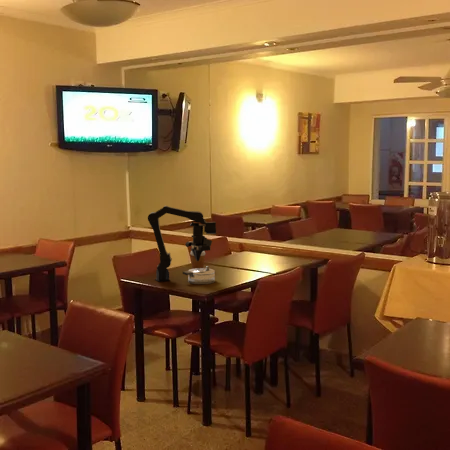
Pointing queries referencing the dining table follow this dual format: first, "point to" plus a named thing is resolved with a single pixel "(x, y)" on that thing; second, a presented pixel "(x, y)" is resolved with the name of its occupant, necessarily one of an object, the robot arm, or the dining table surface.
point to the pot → (201, 279)
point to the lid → (199, 271)
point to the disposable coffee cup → (198, 263)
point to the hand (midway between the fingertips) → (197, 261)
